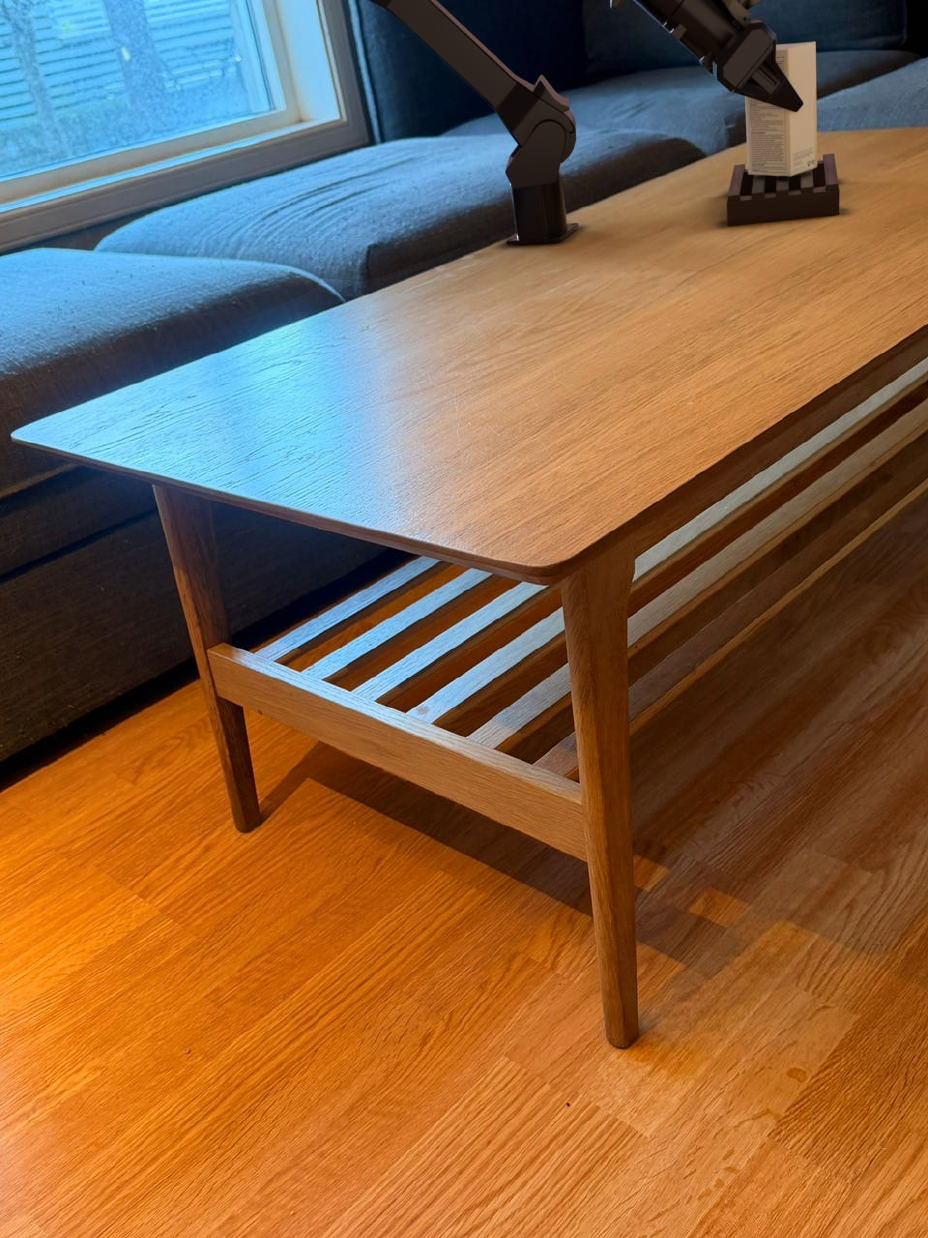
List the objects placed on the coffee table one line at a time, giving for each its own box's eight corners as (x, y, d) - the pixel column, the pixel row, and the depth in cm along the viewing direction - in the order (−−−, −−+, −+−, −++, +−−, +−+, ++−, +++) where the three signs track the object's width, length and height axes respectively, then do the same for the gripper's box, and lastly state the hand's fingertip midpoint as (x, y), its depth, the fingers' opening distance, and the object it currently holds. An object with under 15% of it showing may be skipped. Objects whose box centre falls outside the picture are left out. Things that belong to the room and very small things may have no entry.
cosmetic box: (818, 168, 118) (820, 40, 112) (789, 178, 117) (789, 48, 110) (772, 166, 123) (771, 42, 117) (743, 175, 121) (741, 50, 115)
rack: (839, 214, 113) (839, 183, 112) (727, 225, 116) (726, 195, 115) (834, 181, 126) (835, 152, 125) (734, 192, 129) (733, 164, 128)
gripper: (751, -78, 101) (874, 40, 105) (726, -76, 117) (834, 26, 121) (666, 34, 106) (787, 142, 110) (654, 21, 122) (759, 116, 126)
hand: (793, 103), depth 116 cm, fingers closed on cosmetic box, 7 cm apart
